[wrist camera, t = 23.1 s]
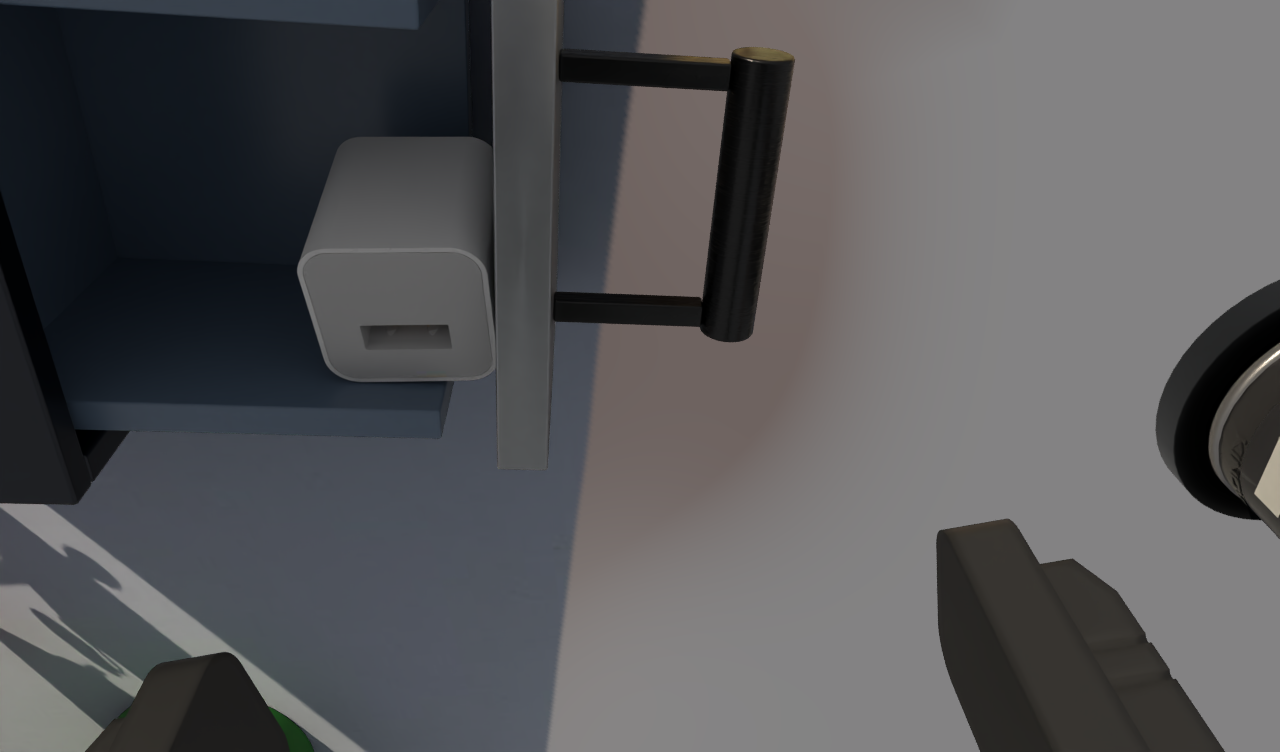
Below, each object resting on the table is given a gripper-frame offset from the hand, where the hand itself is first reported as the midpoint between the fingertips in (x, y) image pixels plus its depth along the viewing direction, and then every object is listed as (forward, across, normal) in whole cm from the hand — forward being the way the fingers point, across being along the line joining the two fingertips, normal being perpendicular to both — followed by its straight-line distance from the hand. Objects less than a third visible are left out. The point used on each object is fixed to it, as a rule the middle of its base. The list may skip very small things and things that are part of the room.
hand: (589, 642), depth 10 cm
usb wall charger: (+14, +4, -2) cm, 15 cm away
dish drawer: (+19, +5, -1) cm, 20 cm away
